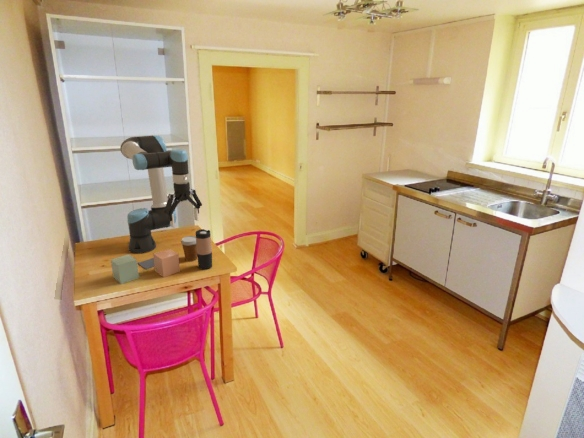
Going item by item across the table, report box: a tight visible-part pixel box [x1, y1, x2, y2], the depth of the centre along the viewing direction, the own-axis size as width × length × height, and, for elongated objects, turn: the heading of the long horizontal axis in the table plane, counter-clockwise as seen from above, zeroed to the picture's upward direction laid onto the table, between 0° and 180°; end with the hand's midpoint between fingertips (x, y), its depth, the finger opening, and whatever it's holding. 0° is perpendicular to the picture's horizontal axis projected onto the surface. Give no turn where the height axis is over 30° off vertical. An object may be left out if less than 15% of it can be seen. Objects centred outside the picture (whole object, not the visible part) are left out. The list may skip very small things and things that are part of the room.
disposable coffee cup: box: [180, 235, 198, 262], centre depth 205 cm, size 10×10×12 cm
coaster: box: [137, 257, 155, 270], centre depth 201 cm, size 10×10×1 cm
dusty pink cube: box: [153, 248, 181, 278], centre depth 191 cm, size 9×9×10 cm
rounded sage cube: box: [110, 253, 140, 285], centre depth 184 cm, size 9×9×10 cm
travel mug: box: [195, 229, 213, 271], centre depth 195 cm, size 8×8×20 cm
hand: (184, 223), depth 187 cm, fingers open, 13 cm apart
